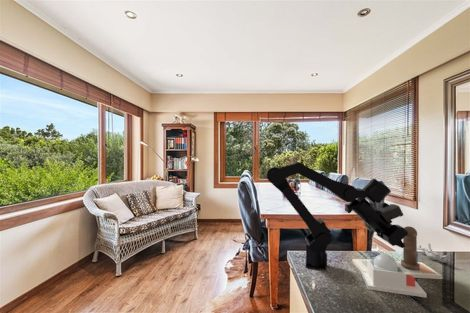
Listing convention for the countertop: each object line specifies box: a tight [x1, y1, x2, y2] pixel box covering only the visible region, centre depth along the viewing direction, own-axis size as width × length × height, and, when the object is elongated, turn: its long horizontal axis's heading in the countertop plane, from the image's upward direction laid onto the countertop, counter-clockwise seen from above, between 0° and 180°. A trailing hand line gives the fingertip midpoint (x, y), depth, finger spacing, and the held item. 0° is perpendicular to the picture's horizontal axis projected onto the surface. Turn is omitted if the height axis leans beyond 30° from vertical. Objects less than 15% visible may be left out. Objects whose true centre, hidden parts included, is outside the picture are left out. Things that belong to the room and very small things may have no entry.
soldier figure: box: [417, 242, 449, 264], centre depth 89 cm, size 8×5×12 cm
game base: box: [361, 258, 428, 298], centre depth 71 cm, size 14×9×6 cm, turn 72°
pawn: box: [400, 225, 420, 270], centre depth 80 cm, size 5×5×13 cm
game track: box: [352, 258, 444, 280], centre depth 81 cm, size 23×10×1 cm, turn 82°
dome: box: [373, 253, 397, 272], centre depth 71 cm, size 6×6×6 cm
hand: (403, 246), depth 80 cm, fingers closed, pressing on pawn
